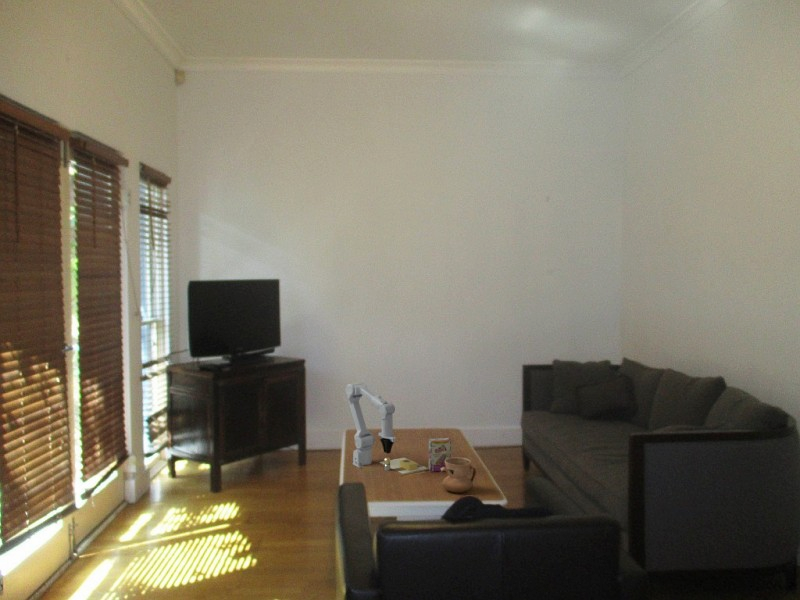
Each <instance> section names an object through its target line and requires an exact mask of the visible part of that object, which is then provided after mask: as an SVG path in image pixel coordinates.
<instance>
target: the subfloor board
mask: <svg viewBox="0 0 800 600" xmlns="http://www.w3.org/2000/svg"><path fill="white" fill-rule="evenodd" d="M407 459H408V458H406V457H400V458H394V459H390V469H392V470H394V471H396V472H398V473H400V474H402V475H401V476H403V477H404V476H407V475H414V474H419V473H424V472H427V471H429V468H428V467H426V466H424V465H422V464H419V463H417V469H415V470H410V471H408V470H406V469H404V468H402V467H400V461H401V460H407ZM409 460H410V459H409ZM410 461H412V460H410ZM378 463H380V464H381V465H384V461H380V462H379V461H378Z"/></svg>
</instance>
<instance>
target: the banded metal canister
mask: <svg viewBox="0 0 800 600" xmlns="http://www.w3.org/2000/svg"><path fill="white" fill-rule="evenodd" d="M383 460H384V464H383V467H384V471H386V472H388V471H391V468H390V460H391V457H387V456H386V457H384V458H383Z"/></svg>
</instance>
